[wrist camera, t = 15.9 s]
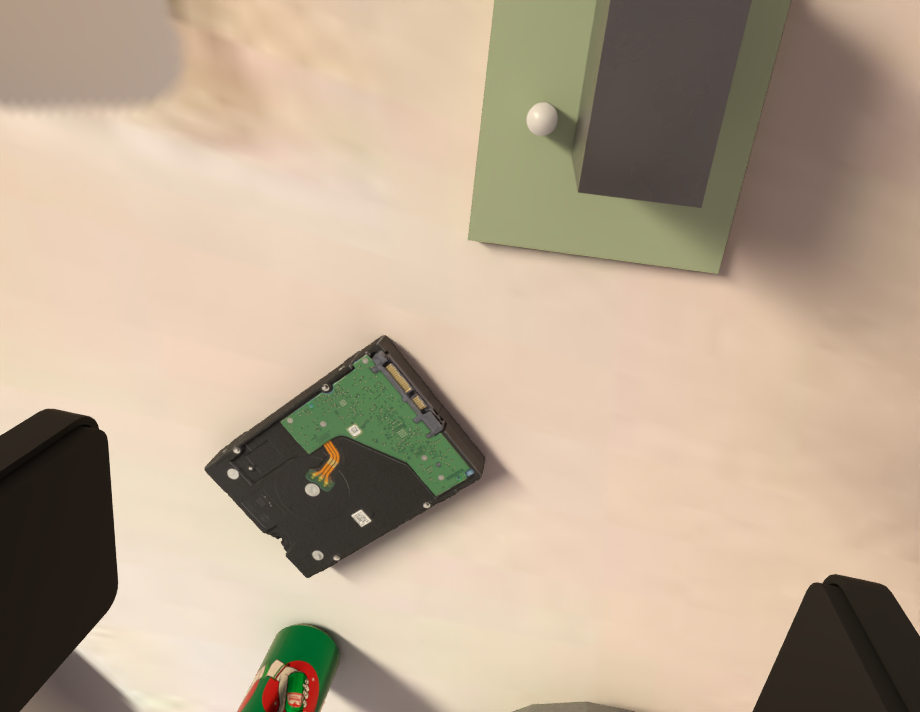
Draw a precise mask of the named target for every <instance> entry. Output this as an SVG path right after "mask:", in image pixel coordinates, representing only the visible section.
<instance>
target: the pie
mask: <svg viewBox="0 0 920 712" xmlns="http://www.w3.org/2000/svg"><path fill="white" fill-rule="evenodd" d="M513 712H634V711H629V710H624V709H619V708H614V707H610V706H605V705H600V704H595V703H590V702H572V703H553V704H533V705H530V706H527V707H524V708H521V709H519V710H516V711H513Z"/></svg>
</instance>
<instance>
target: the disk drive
mask: <svg viewBox="0 0 920 712" xmlns="http://www.w3.org/2000/svg"><path fill="white" fill-rule="evenodd" d="M484 462H485V457H484V455H483V454H482V453H481V452H480V450H479V449H478V448H477V447H476V446H475V444H474V443H473V442H472V441H471V440H470V438H469V437H468V436H467V434H466V433H465V432H464V431H463V429H462V428H461V427H460V426H459V424H458V423H457V422H456V421H455V419H454V418H453V417H452V416H451V414H450V413H449V412H448V411H447V410H446V408H445V407H444V406H443V405H442V404H441V403H440V402H439V400H438V399H437V398H436V397H435V396H434V394H433V393H432V391H431V390H430V389H429V387H428V386H427V385H426V384H425V382H424V381H423V380H422V379H421V378H420V376H419V375H418V374H417V373H416V372H415V370H414V369H413V368H412V367H411V365H410V364H409V363H408V362H407V360H406V359H405V358H404V357H403V356H402V355H401V353H400V352H399V351H398V350H397V348H396V347H395V346H394V344H393V343H392V342H391V341H390V339H389V338H388V337H387V336H386V335H383V336H381V337H380V338H378V339H377V340H375V341H374V342H372V343H371V344H370V345H368V346H367V347H365V348H364V349H362V350H361V351H358V352H357V353H355V354H354V355H353V356H351V357H350V358H348V359H347V360H346V361H345V362H344V363H343V364H341V365H340V366H338V367H337V368H336V369H334V370H333V371H332V372H330V373H329V374H328V375H326V376H325V377H323V378H321V379H320V380H319V381H318V382H316V383H315V384H313V385H312V386H310V387H309V388H308V389H306V390H305V391H303V392H302V393H301V394H299V395H298V396H296V397H295V398H294V399H292V400H291V401H289V402H288V403H287V404H285V405H284V406H282V407H281V408H279V409H278V410H277V411H276V412H274V413H273V414H271V415H270V416H268V417H267V418H266V419H264V420H263V421H261V422H260V423H259V424H257V425H256V426H254V427H253V428H252V429H250V430H249V431H247V432H245V433H243V434H242V435H240V436H239V437H238V438H236V439H235V440H233V441H232V442H231V443H230V444H229V445H227V446H226V447H225V448H224V449H222V450H220V452H219V453H218V454H217V455H216V456H215V457H214V458H213V459H212V460H211V461H210V462H209V463H208V464H207V466H206V467H205V471H206V473H207V474H208V475H209V476H210V477H211V478H212V479H213V480H214V481H215V482H216V483H217V484H218V485H219V486H220V487H221V488H222V489H223V490H224V491H225V492H226V493H228V496H230V497H231V498H232V499H233V501H234V502H235V503H236V504H237V505H238V506H239V507H240V508H241V509H242V510H243V511H244V512H245V514H246V515H247V516H248V517H249V518H250V519H251V520H252V521H253V522H254V523H255V524H256V526H257V527H258V528H259V529H260V530H261V531H262V532H263V533H266V534H268V535H271V536H273V537H275V538H276V539H279V538H282V541H281V544H282V545H283V546H284V549H285V551H286V552H287V553H286V557H287V558H288V559H289V560H290V561H291V562H292V563H293V564H294V565H295V566H296V567H297V568H298V570H299V571H300V572H301V573H302V574H303V575H304V576H305V577H306V578H310V577H311V576H313V575H315V574H317V573H319V572H321V571H324V570H325V569H327V568H329V567H331V566H332V565H334V564H335V563H337V562H338V561H339V560H341V559H343V558H345V557H347V556H348V555H350V554H352V553H353V552H355V551H357V550H358V549H360V548H362V547H363V546H365V545H367V544H369V543H370V542H372V541H374V540H376V539H377V538H379V537H381V536H383V535H384V534H385V533H387V532H389V531H391V530H392V529H395V528H397V527H398V526H399V525H401V524H403V523H405V522H406V521H408V520H411V519H412V518H413V517H415V516H417V515H418V514H421V513H423V512H425V511H426V510H427V509H429V508H431V507H432V506H434V505H435V504H437V503H440V502H442V501H444V500H446V499H447V498H449V497H451V496H453V495H455V494H456V493H458V491H459V490H461V489H463V488H465V487H467V486H469V485H470V484H472V483H474V482H475V481H477V480H479V479H480V478H481V477H482V473H483V468H484Z"/></svg>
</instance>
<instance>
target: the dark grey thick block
mask: <svg viewBox="0 0 920 712" xmlns="http://www.w3.org/2000/svg"><path fill="white" fill-rule="evenodd" d="M751 2H752V0H596V6H595V13H594V19H593V25H592V31H591V37H590V44H589V50H588V56H587V62H586V68H585V74H584V81H583V87H582V93H581V99H580V105H579V112H578V118H577V124H576V130H575V136H574V142H573V149H572V155H571V156H572V162H573V168H574V173H575V179H576V185H577V190H578V193H585V194H593V195H601V196H609V197H617V198H625V199H633V200H641V201H649V202H657V203H665V204H673V205H681V206H689V207H697V208H702V204H703V200H704V195H705V191H706V187H707V183H708V179H709V175H710V171H711V167H712V163H713V158H714V154H715V150H716V146H717V142H718V138H719V134H720V130H721V126H722V121H723V117H724V113H725V109H726V105H727V101H728V97H729V93H730V89H731V84H732V80H733V76H734V72H735V68H736V64H737V60H738V56H739V51H740V47H741V43H742V39H743V35H744V31H745V27H746V23H747V19H748V14H749V10H750V6H751Z"/></svg>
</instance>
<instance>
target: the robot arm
mask: <svg viewBox="0 0 920 712" xmlns="http://www.w3.org/2000/svg"><path fill="white" fill-rule="evenodd" d="M117 589H118V574H117V561H116V547H115V533H114V519H113V505H112V491H111V477H110V463H109V449H108V439H107V436H106V434H105V432H103V431H102V430H99V427H98V424H97V422H96V421H95V419H93V418H91V417H90V416H85V415H80V414H75V413H71V412H66V411H61V410H56V409H45V410H42V411H40V412H38V413H36V414H35V415H33V416H32V417H30V418H28V419H27V420H25V421H23V422H22V423H20V424H19V425H17V426H15V427H14V428H12V429H10V430H9V431H7V432H6V433H4V434H2V435H1V436H0V712H20V710H21V709H22V708H23V707H24V706H25V705H26V704H27V703H28V701H29V700H30V699H31V698H32V697H33V696H34V695H35V693H36V692H37V691H38V690H39V689H40V688H41V687H42V686H43V684H44V683H45V682H46V681H47V680H48V679H49V677H50V676H51V675H52V674H53V673H54V672H55V671H56V670H57V668H58V667H59V666H60V665H61V664H62V663H63V662H64V660H65V659H66V658H67V657H68V656H69V655H70V654H71V653H72V651H73V650H74V649H75V648H76V647H77V646H78V645H79V643H80V642H81V641H82V640H83V639H84V638H85V637H86V635H87V634H88V633H89V632H90V631H91V630H92V629H93V628H94V626H95V625H96V624H97V623H98V622H99V621H100V620H101V618H102V617H103V616H104V615H105V614H106V613H107V611H108V610H109V609H110V607H111V605H112V603H113V602H114V599H115V596H116V594H117ZM753 712H920V636H919V634H918V633H917V631H916V630H915V628H914V627H913V625H912V624H911V622H910V620H909V619H908V617H907V616H906V614H905V613H904V611H903V609H902V608H901V606H900V605H899V603H898V602H897V600H896V599H895V597H894V595H893V594H892V592H891V591H890V590H889V589H888V588H887V587H886V586H884V585H882V584H880V583H875V582H870V581H865V580H861V579H856V578H851V577H847V576H842V575H837V574H834V575H830V576H828V577H827V578H826V579H825V580H824V582H823V583H818V582H817V583H813V584H812V585H810V586H809V588H808V590H807V591H806V594H805V596H804V598H803V600H802V603H801V605H800V607H799V609H798V612H797V614H796V616H795V618H794V620H793V623H792V625H791V627H790V629H789V632H788V634H787V636H786V638H785V641H784V643H783V645H782V647H781V649H780V652H779V654H778V656H777V658H776V661H775V663H774V665H773V667H772V670H771V672H770V674H769V676H768V678H767V681H766V683H765V685H764V687H763V690H762V692H761V694H760V696H759V699H758V701H757V703H756V705H755V707H754V710H753Z"/></svg>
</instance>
